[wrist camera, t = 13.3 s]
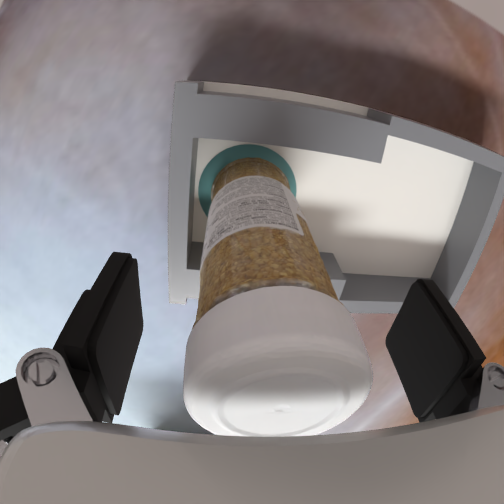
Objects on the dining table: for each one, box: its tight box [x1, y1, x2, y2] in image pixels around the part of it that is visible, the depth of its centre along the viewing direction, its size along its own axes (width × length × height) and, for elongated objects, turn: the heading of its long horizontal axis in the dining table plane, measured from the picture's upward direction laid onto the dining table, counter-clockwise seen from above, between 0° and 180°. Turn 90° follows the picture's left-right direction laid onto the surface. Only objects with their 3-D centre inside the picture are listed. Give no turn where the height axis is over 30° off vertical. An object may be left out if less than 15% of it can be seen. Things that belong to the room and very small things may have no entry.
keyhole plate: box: [168, 80, 504, 313], centre depth 18 cm, size 20×12×4 cm, turn 83°
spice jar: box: [183, 157, 373, 437], centre depth 12 cm, size 5×5×14 cm
